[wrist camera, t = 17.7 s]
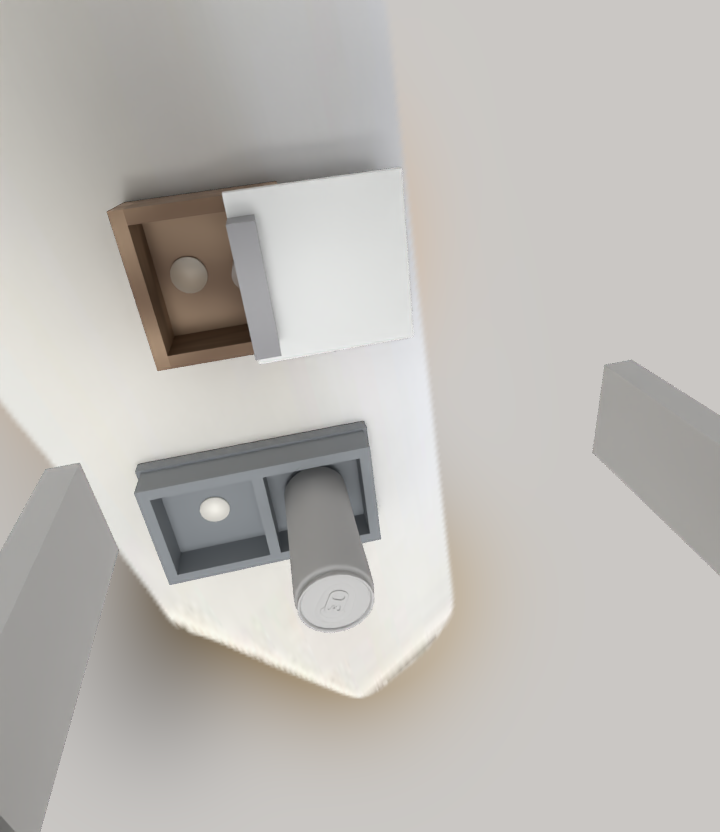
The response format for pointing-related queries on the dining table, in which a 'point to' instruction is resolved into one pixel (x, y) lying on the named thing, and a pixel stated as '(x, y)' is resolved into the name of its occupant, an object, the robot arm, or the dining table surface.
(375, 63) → the dining table surface
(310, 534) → the beverage can
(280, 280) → the lid
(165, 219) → the tray
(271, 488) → the socket board
